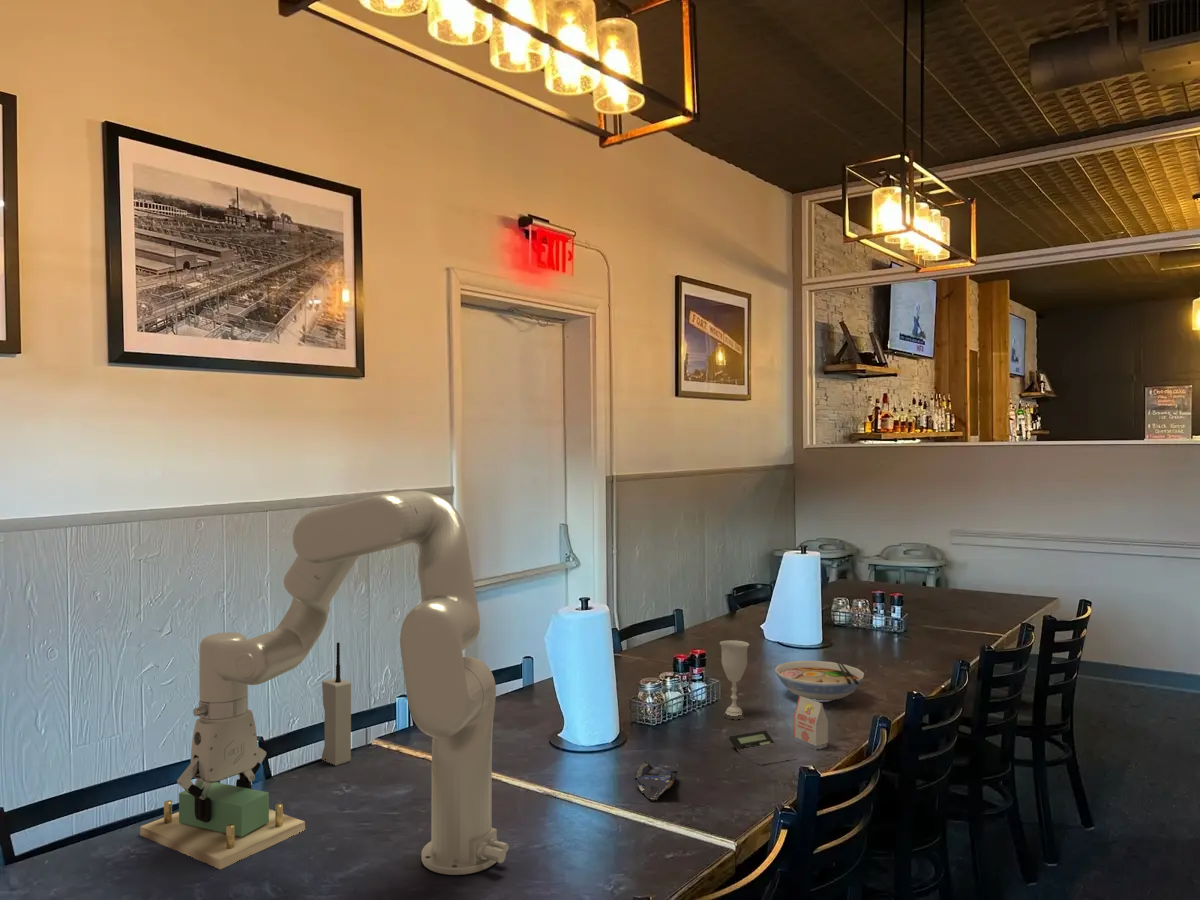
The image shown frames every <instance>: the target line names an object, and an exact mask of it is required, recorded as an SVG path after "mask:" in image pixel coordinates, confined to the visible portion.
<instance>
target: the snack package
mask: <svg viewBox="0 0 1200 900" xmlns="http://www.w3.org/2000/svg"><path fill="white" fill-rule="evenodd" d="M652 770H654V769H653V766H652V765H651V762H649V761H646V760H645V761H643V763H642V764H641V765H640V766H639V768H638V770H637V771H636V770H635V771H634V778H635V779H636V778H637V779H636V784H637V786H638V788H639V790H640V791H641V792H642V791H643V790H645V789H644V788H643V787H646V786H645V785H644V784H641V783H640V782H639V779H638V778H644V779H649V778H651V779H655V780H662V781H664V782H666V783H669V784H668V785H666V786H665V788H664V789H663V790H662V792H660V793H659V794H658V795H657V796H654V795H653V796H654V797H655V798H652V797H651V799H656V800H658V798H659V797H660V796H661V795H663V794H664V793H665V791H667V790H669V789H670V788H671V787H672V786H673V784H674V781H675V780H676V778H677V775H678V772H679V771H678V770H674V771H673V770H671V769H668V770H669V771H668V770H667V771H659V772H656V773H651V771H652ZM644 775H653V776H648V777H643V776H644Z"/></svg>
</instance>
